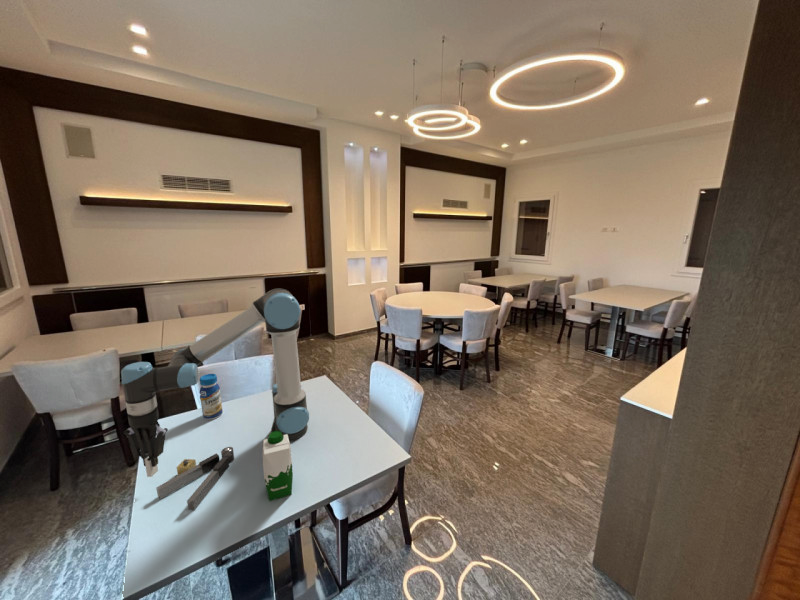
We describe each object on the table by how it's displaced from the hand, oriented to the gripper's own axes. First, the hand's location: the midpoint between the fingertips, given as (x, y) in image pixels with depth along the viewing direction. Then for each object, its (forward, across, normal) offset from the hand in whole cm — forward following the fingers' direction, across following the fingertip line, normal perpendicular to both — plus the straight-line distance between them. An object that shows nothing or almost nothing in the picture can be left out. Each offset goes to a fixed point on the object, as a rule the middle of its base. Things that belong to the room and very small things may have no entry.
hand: (152, 473), depth 105 cm
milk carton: (+5, +43, +1) cm, 43 cm away
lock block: (+6, +6, +7) cm, 11 cm away
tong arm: (+5, +10, +4) cm, 12 cm away
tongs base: (+5, +17, +4) cm, 18 cm away
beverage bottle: (+6, -7, +43) cm, 44 cm away
